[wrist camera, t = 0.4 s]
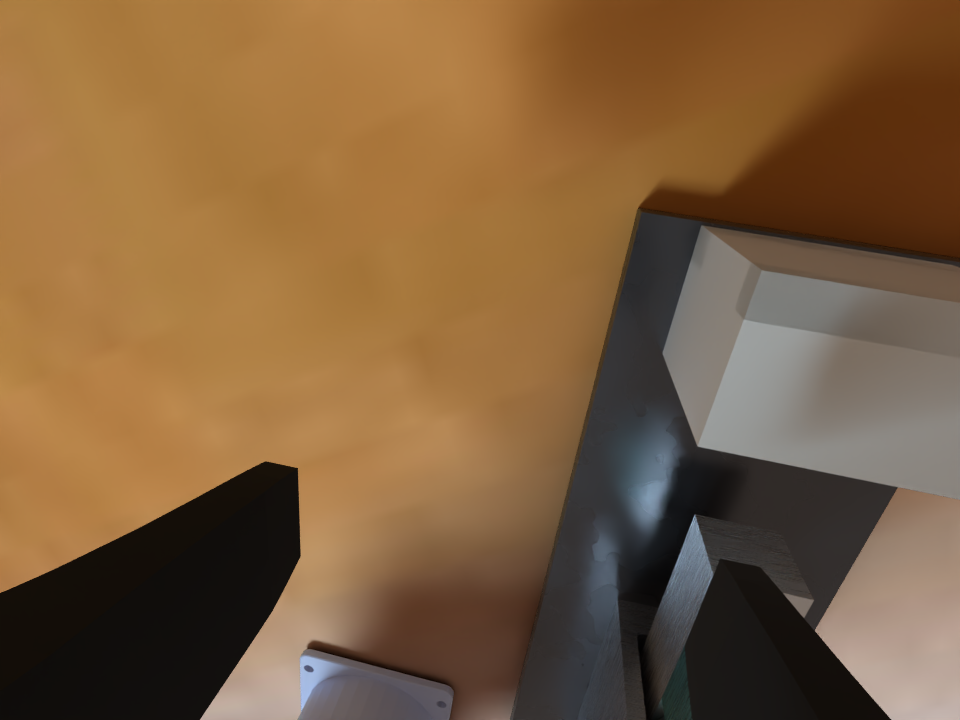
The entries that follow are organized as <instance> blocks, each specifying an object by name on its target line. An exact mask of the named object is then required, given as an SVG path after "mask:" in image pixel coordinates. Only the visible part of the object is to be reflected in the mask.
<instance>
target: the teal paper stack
mask: <svg viewBox="0 0 960 720" xmlns="http://www.w3.org/2000/svg"><path fill="white" fill-rule="evenodd" d="M720 558H721V559H725V560H730V561H735V562H739V563H744V564H749V565H753V566H758V567H760V568H761V569H762V570H763V571H764V572H765V573H766V574H767V575H768V576H769V578H770V579H771V580H772V581H773V582H774V583H775V584H776V586H777V587H778V588H779V589H780V590H781V591H782V593H783V594H784V595H785V596H786V597H787V599H788V600H789V601H790V602H791V603H792V605H793V606H794V607H795V608H796V609H797V610H798V612H799V613H800V614H801V615H802V616H803V618H804V617H805V616H806V614H807V612H808V610H809V608H810V607H811V605H812V603H813V601H814V599H813V597H812V595H811V593H810V591H809V589H808V587H807V585H806V583H805V581H804V579H803V577H802V575H801V573H800V571H799V569H798V567H797V565H796V563H795V561H794V559H793V557H792V555H791V553H790V551H789V549H788V547H787V545H786V543H785V541H784V539H783V537H782V535H781V533H779V532H775V531H770V530H766V529H761V528H756V527H752V526H747V525H742V524H738V523H733V522H729V521H724V520H719V519H715V518H710V517H705V516H701V515H696V514H695V515H694V518H693V521H692V523H691V526H690V528H689V531H688V533H687V536H686V539H685V541H684V544H683V546H682V549H681V552H680V554H679V557H678V559H677V562H676V564H675V567H674V570H673V572H672V575H671V577H670V580H669V582H668V585H667V588H666V590H665V593H664V595H663V598H662V600H661V603H660V606H659V608H658V611H657V613H656V616H655V618H654V621H653V624H652V626H651V629H650V631H649V634H648V637H647V639H646V642H645V644H644V647H643V649H642V652H641V655H640V657H639V661H640V670H641V678H642V687H643V696H644V705H645V714H646V720H692V715H691V707H690V698H689V689H688V680H687V669H686V658H685V647H684V646H685V643H686V641H687V638H688V636H689V633H690V631H691V629H692V626H693V624H694V621H695V619H696V616H697V614H698V612H699V609H700V607H701V604H702V602H703V599H704V597H705V594H706V592H707V590H708V587H709V585H710V582H711V580H712V577H713V575H714V573H715V570H716V568H717V565H718V563H719V560H720Z"/></svg>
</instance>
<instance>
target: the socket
mask: <svg viewBox="0 0 960 720" xmlns="http://www.w3.org/2000/svg"><path fill="white" fill-rule="evenodd" d="M662 354H663V356H664V359H665V361H666V364H667V367H668V369H669V372H670V375H671V377H672V380H673V383H674V385H675V388H676V391H677V393H678V396H679V399H680V401H681V404H682V407H683V409H684V412H685V415H686V417H687V420H688V423H689V425H690V428H691V431H692V433H693V436H694V438H695V441H696V444H697V446H698V447H702V448H707V449H712V450H717V451H722V452H727V453H732V454H737V455H742V456H747V457H752V458H756V459H761V460H766V461H771V462H776V463H781V464H786V465H791V466H796V467H801V468H806V469H811V470H816V471H821V472H825V473H830V474H835V475H840V476H845V477H850V478H855V479H860V480H865V481H870V482H875V483H880V484H885V485H890V486H895V487H899V488H904V489H909V490H914V491H919V492H924V493H929V494H934V495H939V496H944V497H949V498H954V499H959V500H960V268H959V267H957V266H954V265H949V264H943V263H937V262H930V261H924V260H918V259H911V258H905V257H899V256H892V255H886V254H880V253H873V252H867V251H861V250H855V249H848V248H842V247H836V246H829V245H823V244H817V243H810V242H804V241H798V240H791V239H785V238H779V237H772V236H766V235H760V234H753V233H747V232H741V231H734V230H728V229H722V228H716V227H709V226H703V225H701V228H700V232H699V235H698V238H697V242H696V245H695V248H694V251H693V255H692V258H691V261H690V265H689V268H688V271H687V274H686V278H685V281H684V284H683V288H682V291H681V294H680V297H679V301H678V304H677V307H676V311H675V314H674V317H673V320H672V324H671V327H670V330H669V334H668V337H667V340H666V343H665V347H664V350H663V353H662Z"/></svg>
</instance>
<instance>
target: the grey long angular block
mask: <svg viewBox="0 0 960 720" xmlns="http://www.w3.org/2000/svg"><path fill="white" fill-rule="evenodd" d="M701 225H703V226H709V227H716V228H722V229H728V230H734V231H741V232H747V233H753V234H760V235H766V236H772V237H779V238H785V239H791V240H798V241H804V242H810V243H817V244H823V245H829V246H836V247H842V248H848V249H855V250H861V251H867V252H873V253H880V254H886V255H892V256H899V257H905V258H911V259H918V260H924V261H930V262H937V263H943V264H949V265H954V266H957V267H959V268H960V258H956V257H950V256H943V255H937V254H931V253H924V252H918V251H911V250H905V249H899V248H892V247H886V246H879V245H873V244H867V243H860V242H854V241H848V240H841V239H835V238H828V237H822V236H816V235H809V234H803V233H797V232H790V231H784V230H777V229H771V228H765V227H758V226H752V225H745V224H739V223H733V222H726V221H720V220H714V219H707V218H701V217H694V216H688V215H682V214H675V213H669V212H663V211H656V210H650V209H643V208H638V210H637V214H636V218H635V222H634V226H633V230H632V234H631V238H630V242H629V246H628V250H627V254H626V258H625V262H624V266H623V270H622V274H621V278H620V282H619V286H618V290H617V294H616V298H615V302H614V306H613V310H612V314H611V318H610V322H609V326H608V330H607V334H606V338H605V342H604V346H603V350H602V354H601V358H600V362H599V366H598V370H597V374H596V378H595V382H594V386H593V390H592V394H591V398H590V402H589V406H588V410H587V414H586V418H585V422H584V426H583V430H582V434H581V438H580V442H579V446H578V450H577V454H576V458H575V462H574V466H573V470H572V474H571V478H570V482H569V486H568V490H567V494H566V498H565V502H564V506H563V510H562V514H561V518H560V522H559V526H558V530H557V534H556V538H555V542H554V546H553V550H552V554H551V558H550V562H549V566H548V570H547V574H546V578H545V582H544V586H543V590H542V594H541V598H540V602H539V606H538V610H537V614H536V618H535V622H534V626H533V630H532V633H531V637H530V641H529V645H528V649H527V653H526V657H525V661H524V665H523V669H522V673H521V677H520V681H519V685H518V689H517V693H516V697H515V701H514V705H513V709H512V713H511V717H510V720H646V714H645V705H644V696H643V687H642V678H641V670H640V661H639V657H640V655H641V652H642V649H643V647H644V644H645V642H646V639H647V637H648V634H649V631H650V629H651V626H652V624H653V621H654V618H655V616H656V613H657V611H658V608H659V606H660V603H661V600H662V598H663V595H664V593H665V590H666V588H667V585H668V582H669V580H670V577H671V575H672V572H673V570H674V567H675V564H676V562H677V559H678V557H679V554H680V552H681V549H682V546H683V544H684V541H685V539H686V536H687V533H688V531H689V528H690V526H691V523H692V521H693V518H694V515H695V514H696V515H701V516H705V517H710V518H715V519H719V520H724V521H729V522H733V523H738V524H742V525H747V526H752V527H756V528H761V529H766V530H770V531H775V532H779V533H781V535H782V537H783V539H784V541H785V543H786V545H787V547H788V549H789V551H790V553H791V555H792V557H793V559H794V561H795V563H796V565H797V567H798V569H799V571H800V573H801V575H802V577H803V579H804V581H805V583H806V585H807V587H808V589H809V591H810V593H811V595H812V597H813V599H814V601H813V603H812V605H811V607H810V608H809V610H808V612H807V614H806V616H805V617H804V619H805V620H806V621H807V622H808V624H809V625H810V626H811V627H812V628H813V630H814V631H815V629H816V627H817V625H818V624H819V622H820V620H821V618H822V617H823V615H824V613H825V612H826V610H827V608H828V606H829V605H830V603H831V601H832V600H833V598H834V596H835V594H836V593H837V591H838V589H839V587H840V586H841V584H842V582H843V581H844V579H845V577H846V575H847V574H848V572H849V570H850V569H851V567H852V565H853V563H854V562H855V560H856V558H857V557H858V555H859V553H860V551H861V550H862V548H863V546H864V544H865V543H866V541H867V539H868V538H869V536H870V534H871V532H872V531H873V529H874V527H875V526H876V524H877V522H878V520H879V519H880V517H881V515H882V514H883V512H884V510H885V508H886V507H887V505H888V503H889V501H890V500H891V498H892V496H893V495H894V493H895V491H896V489H897V488H898V487H895V486H890V485H885V484H880V483H875V482H870V481H865V480H860V479H855V478H850V477H845V476H840V475H835V474H830V473H825V472H821V471H816V470H811V469H806V468H801V467H796V466H791V465H786V464H781V463H776V462H771V461H766V460H761V459H756V458H752V457H747V456H742V455H737V454H732V453H727V452H722V451H717V450H712V449H707V448H702V447H698V446H697V444H696V441H695V438H694V436H693V433H692V431H691V428H690V425H689V423H688V420H687V417H686V415H685V412H684V409H683V407H682V404H681V401H680V399H679V396H678V393H677V391H676V388H675V385H674V383H673V380H672V377H671V375H670V372H669V369H668V367H667V364H666V361H665V359H664V356H663V354H662V353H663V350H664V347H665V343H666V340H667V337H668V334H669V330H670V327H671V324H672V320H673V317H674V314H675V311H676V307H677V304H678V301H679V297H680V294H681V291H682V288H683V284H684V281H685V278H686V274H687V271H688V268H689V265H690V261H691V258H692V255H693V251H694V248H695V245H696V242H697V238H698V235H699V232H700V228H701Z"/></svg>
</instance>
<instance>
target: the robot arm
mask: <svg viewBox="0 0 960 720" xmlns="http://www.w3.org/2000/svg"><path fill="white" fill-rule="evenodd" d="M300 556H301V555H300V523H299V491H298V468H294V467H290V466H285V465H280V464H275V463H271V462H266V461H265V462H263V463H261V464H259V465H257V466H255V467H253V468H251V469H249V470H247V471H245V472H243V473H241V474H240V475H238V476H236V477H234V478H232V479H230V480H228V481H226V482H225V483H223V484H221V485H219V486H217V487H215V488H214V489H212V490H210V491H208V492H206V493H204V494H202V495H201V496H199V497H197V498H195V499H193V500H191V501H189V502H188V503H186V504H184V505H182V506H180V507H178V508H176V509H174V510H172V511H171V512H169V513H167V514H165V515H163V516H161V517H159V518H157V519H155V520H154V521H152V522H150V523H148V524H146V525H144V526H142V527H140V528H138V529H136V530H134V531H132V532H130V533H128V534H126V535H124V536H122V537H120V538H118V539H116V540H114V541H112V542H110V543H108V544H106V545H103V546H101V547H99V548H97V549H95V550H93V551H91V552H89V553H87V554H85V555H83V556H81V557H79V558H77V559H75V560H73V561H71V562H69V563H67V564H65V565H62V566H60V567H58V568H56V569H54V570H52V571H50V572H47V573H45V574H43V575H41V576H39V577H36V578H34V579H32V580H29V581H27V582H25V583H23V584H20V585H18V586H16V587H14V588H11V589H9V590H7V591H4V592H2V593H0V720H200V719H201V717H202V716H203V714H204V713H205V711H206V710H207V708H208V707H209V705H210V704H211V702H212V701H213V699H214V698H215V696H216V695H217V693H218V692H219V690H220V689H221V687H222V686H223V684H224V683H225V682H226V680H227V679H228V677H229V676H230V674H231V673H232V671H233V670H234V668H235V667H236V665H237V664H238V662H239V661H240V659H241V658H242V656H243V655H244V653H245V652H246V650H247V649H248V647H249V646H250V644H251V643H252V641H253V640H254V638H255V637H256V635H257V634H258V632H259V631H260V629H261V628H262V626H263V625H264V623H265V622H266V620H267V619H268V617H269V615H270V614H271V612H272V611H273V609H274V607H275V605H276V603H277V601H278V600H279V598H280V596H281V594H282V592H283V590H284V588H285V586H286V584H287V582H288V580H289V578H290V576H291V574H292V572H293V570H294V568H295V566H296V564H297V562H298V560H299V558H300ZM684 647H685V658H686V669H687V680H688V689H689V698H690V707H691V715H692V720H891V719H890V718H889V717H888V716H887V714H886V713H885V712H884V711H883V710H882V709H881V708H880V707H879V705H878V704H877V703H876V702H875V701H874V700H873V699H872V697H871V696H870V695H869V694H868V693H867V692H866V691H865V689H864V688H863V687H862V686H861V685H860V684H859V682H858V681H857V680H856V679H855V678H854V677H853V676H852V674H851V673H850V672H849V671H848V670H847V669H846V667H845V666H844V665H843V664H842V663H841V662H840V660H839V659H838V658H837V657H836V656H835V654H834V653H833V652H832V651H831V650H830V649H829V647H828V646H827V645H826V644H825V643H824V641H823V640H822V639H821V638H820V637H819V635H818V634H817V633H816V632H815V631H814V630H813V628H812V627H811V626H810V625H809V624H808V622H807V621H806V620H805V619H804V618H803V616H802V615H801V614H800V613H799V612H798V610H797V609H796V608H795V607H794V606H793V605H792V603H791V602H790V601H789V600H788V599H787V597H786V596H785V595H784V594H783V593H782V591H781V590H780V589H779V588H778V587H777V586H776V584H775V583H774V582H773V581H772V580H771V579H770V578H769V576H768V575H767V574H766V573H765V572H764V571H763V570H762V569H761V568H760V567H758V566H753V565H749V564H744V563H739V562H735V561H730V560H725V559H721V558H720V560H719V563H718V565H717V568H716V570H715V573H714V575H713V577H712V580H711V582H710V585H709V587H708V590H707V592H706V594H705V597H704V599H703V602H702V604H701V607H700V609H699V612H698V614H697V616H696V619H695V621H694V624H693V626H692V629H691V631H690V633H689V636H688V638H687V641H686V643H685V646H684ZM300 683H301V714H300V716H299V718H298V720H449V719H450V714H451V708H452V702H453V696H454V691H453V690H452V688H451V687H449V686H448V685H445V684H441V683H437V682H434V681H430V680H426V679H422V678H419V677H415V676H411V675H407V674H403V673H400V672H396V671H392V670H388V669H384V668H381V667H377V666H373V665H369V664H366V663H362V662H358V661H354V660H350V659H347V658H343V657H339V656H335V655H331V654H328V653H324V652H320V651H316V650H313V649H307V650H305V651H303V653H302V655H301V657H300Z"/></svg>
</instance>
